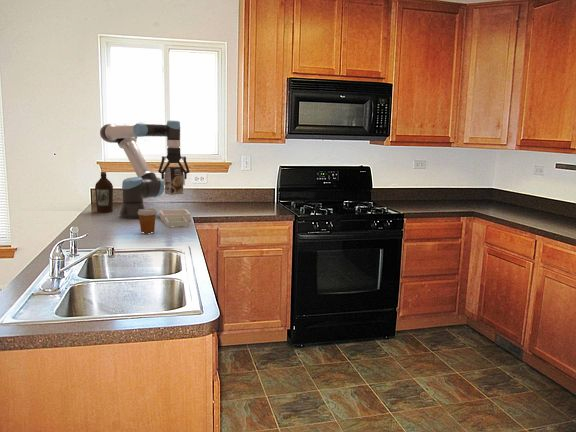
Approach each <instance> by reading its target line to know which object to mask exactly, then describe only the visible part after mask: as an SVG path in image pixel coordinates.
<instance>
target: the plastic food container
mask: <svg viewBox="0 0 576 432" xmlns="http://www.w3.org/2000/svg"><path fill="white" fill-rule="evenodd" d="M158 211H159V213H158V215H159V219H160V220H161V221H162V222H163V221H165V220H164V218H170V217H184V218H185V219H186V220H187V221H188V222H189V221H191V217H192V216H191V212H189V210H187V209H186V208H181V209H178V208H177V209H159V210H158Z"/></svg>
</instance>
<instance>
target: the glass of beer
mask: <svg viewBox="0 0 576 432" xmlns="http://www.w3.org/2000/svg"><path fill="white" fill-rule="evenodd" d="M157 212H158V211H157V210H156V209H155V208H145V209H140V210H138V215H139V218H138V219H139V225H140V233H141V232H144V233H151V232H154V233H155V227H156V217H157Z"/></svg>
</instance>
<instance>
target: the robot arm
mask: <svg viewBox="0 0 576 432" xmlns="http://www.w3.org/2000/svg"><path fill="white" fill-rule="evenodd" d="M99 135H100V137H101V139H102V140H103V141H105V143H106V142H107V143H110V144H113V143H114V144H115V143H117V144H118V147H119V148H120V149H123V151H124V153H125V155H126V157H127V159H128V161H129V163H130V164H131V166H132V168H133V170H134V172H135V174H136V176H134V177H128V178H124V179H123V180H122V184H121V185H122V186H121V189H122V207H121V210H120V213H119V214H120V215H119V217H120V218H122V219H127V220H128V219H130V220H131V219H133V220H134V219H139V215H138V210H140V209H146V208H145V205H144V199H149V198H157V197H160V196H162V195H163V194H164V192H165V171H166V169H167V167H170V165H171V164H178V167H181V168H182V170H183V186H185V185H186V181H185V180H187V174H188V173H191V172H190V169H189V168H190V167H189V166H188V163H187V157H186V156H181V122H180V121H179V120H173V119H172V120H169V119H168V120H167V121H166V123H161V122H160V123H159V122H158V123H155V122H150V123H149V122H137V123H132V124H131V123H130V124H127V123H123V124H122V123H121V124H119V123H108V124H106V123H105V124H104V125H102V127H101V128H100V130H99ZM140 137H141V138H143V137H166V142H167V143H166V153H167V154H166V156H163V155H162V156H161V161H160V165H159V168H158V173H159V174H161V178H160V177H157V174H155V172H153V171H152V170H151V169H150V168H149V165H148V163H147V161H146V160H145V158H144V156H143V154H142V152H141V151H140V149H139V146H138V144H137V140H138V138H140ZM166 159H167V160H168V161H167V163H166V164H165V161H166ZM180 160H182V161H183V164H184V166H185V168H184V166H183V164H182V163H181V161H180ZM164 164H165V166H164ZM163 166H164V167H163Z"/></svg>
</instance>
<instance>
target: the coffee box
mask: <svg viewBox="0 0 576 432" xmlns="http://www.w3.org/2000/svg"><path fill="white" fill-rule="evenodd" d="M164 174H165V185H164V194H165V195H168V196H169V195H170V196H174V195H175V196H176V195H177V196H178V195H182V194H184V185H183V174H184V172H183V170H182V168H181V167H180V166H168V167H167V169H166V171H165V172H164Z"/></svg>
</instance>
